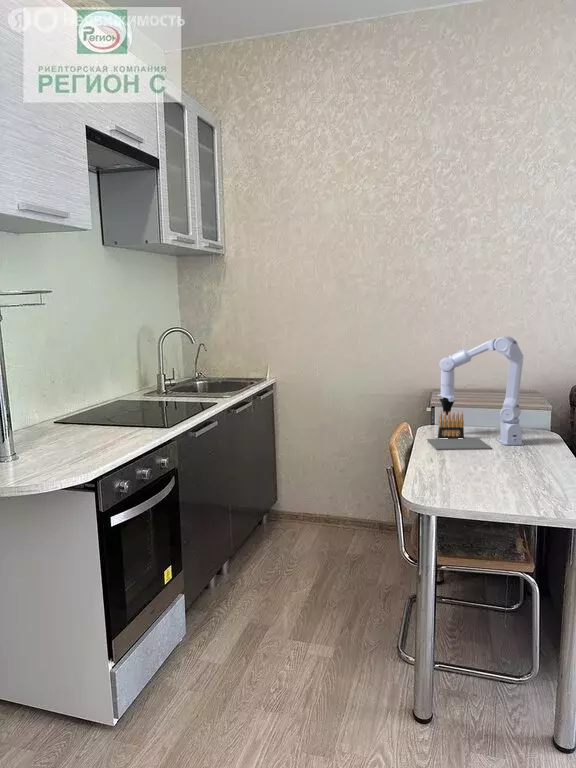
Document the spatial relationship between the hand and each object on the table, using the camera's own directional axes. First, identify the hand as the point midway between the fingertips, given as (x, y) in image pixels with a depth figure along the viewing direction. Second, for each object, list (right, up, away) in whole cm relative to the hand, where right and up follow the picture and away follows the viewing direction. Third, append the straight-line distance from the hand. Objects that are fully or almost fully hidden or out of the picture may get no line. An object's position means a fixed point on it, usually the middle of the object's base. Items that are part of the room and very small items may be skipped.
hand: (446, 415), depth 238 cm
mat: (0, -11, -17) cm, 20 cm away
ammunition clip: (0, -10, -6) cm, 12 cm away
